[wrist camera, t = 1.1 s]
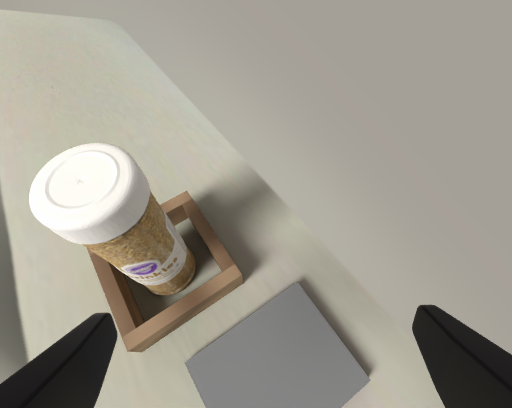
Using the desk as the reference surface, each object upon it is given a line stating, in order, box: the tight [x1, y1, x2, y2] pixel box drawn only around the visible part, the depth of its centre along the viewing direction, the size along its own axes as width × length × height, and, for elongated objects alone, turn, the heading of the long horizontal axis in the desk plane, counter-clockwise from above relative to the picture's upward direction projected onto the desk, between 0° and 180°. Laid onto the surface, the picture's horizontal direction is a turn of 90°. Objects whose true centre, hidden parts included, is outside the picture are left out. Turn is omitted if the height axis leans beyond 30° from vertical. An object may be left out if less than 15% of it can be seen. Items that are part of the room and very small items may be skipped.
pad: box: [185, 282, 370, 408], centre depth 19 cm, size 10×8×1 cm
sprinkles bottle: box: [29, 143, 196, 295], centre depth 18 cm, size 5×5×13 cm
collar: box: [87, 191, 244, 352], centre depth 22 cm, size 9×9×2 cm
